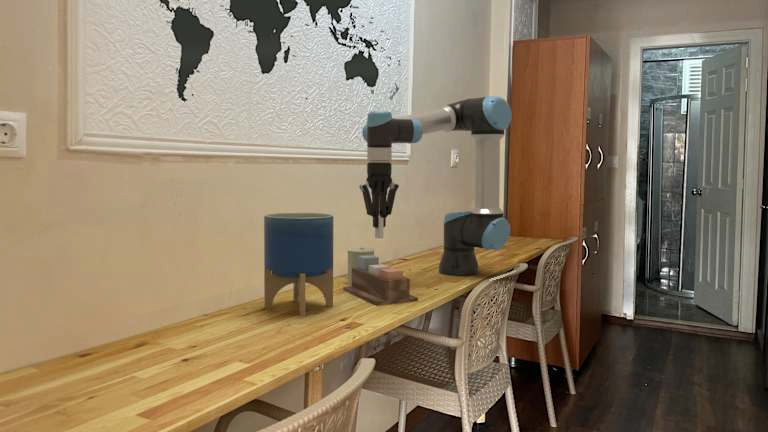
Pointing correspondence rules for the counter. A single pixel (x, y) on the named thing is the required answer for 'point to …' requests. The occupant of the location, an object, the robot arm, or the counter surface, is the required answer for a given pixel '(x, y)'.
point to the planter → (298, 255)
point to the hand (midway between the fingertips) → (379, 237)
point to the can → (356, 259)
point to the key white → (377, 268)
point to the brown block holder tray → (379, 288)
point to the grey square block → (367, 262)
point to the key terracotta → (391, 274)
